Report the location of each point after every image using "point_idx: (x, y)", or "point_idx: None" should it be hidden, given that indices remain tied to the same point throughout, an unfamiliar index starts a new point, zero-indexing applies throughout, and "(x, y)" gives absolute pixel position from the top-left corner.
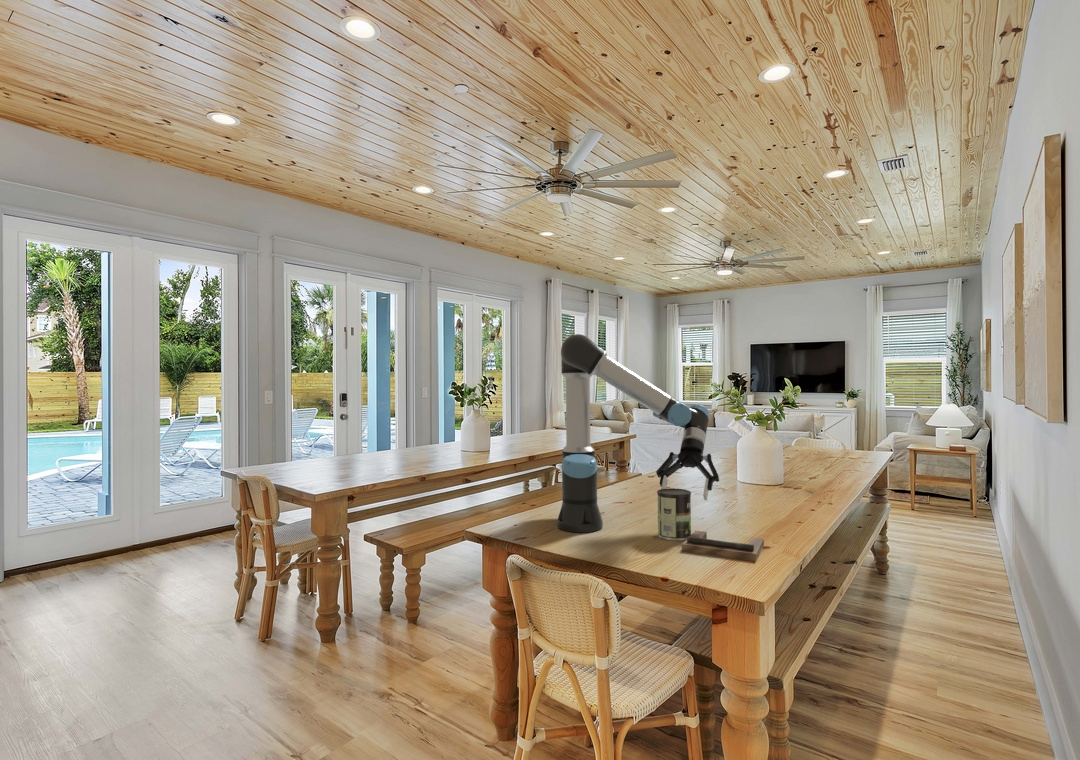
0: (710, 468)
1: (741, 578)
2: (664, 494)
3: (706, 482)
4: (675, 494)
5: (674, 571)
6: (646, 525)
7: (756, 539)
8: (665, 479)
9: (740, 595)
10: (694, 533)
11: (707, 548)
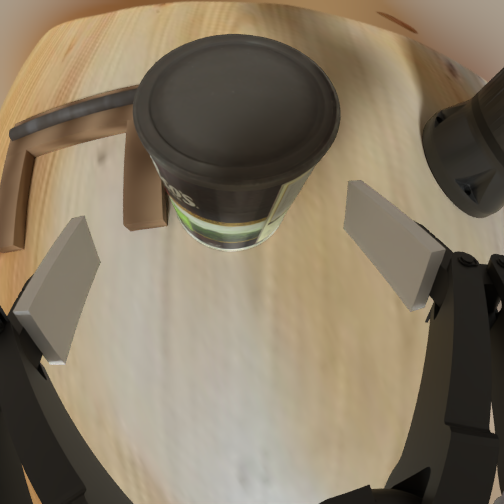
0: (5, 475)
1: (56, 55)
2: (255, 37)
3: (36, 279)
4: (200, 43)
5: (153, 19)
6: (369, 273)
7: (3, 230)
8: (406, 230)
9: (67, 22)
10: (154, 182)
11: (101, 95)
